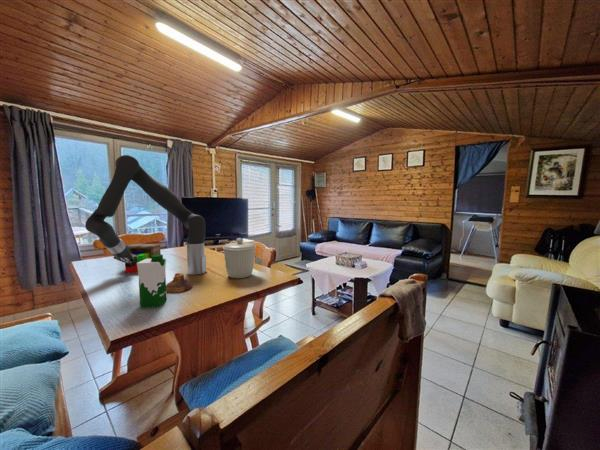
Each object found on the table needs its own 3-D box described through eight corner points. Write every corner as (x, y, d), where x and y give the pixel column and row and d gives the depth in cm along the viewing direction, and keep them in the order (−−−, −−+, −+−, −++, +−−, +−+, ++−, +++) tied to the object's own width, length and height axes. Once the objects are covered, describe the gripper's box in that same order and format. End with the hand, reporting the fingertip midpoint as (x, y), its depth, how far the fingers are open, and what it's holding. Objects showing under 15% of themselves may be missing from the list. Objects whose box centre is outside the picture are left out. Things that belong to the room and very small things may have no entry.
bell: (186, 293, 117) (185, 278, 117) (159, 293, 117) (158, 277, 116) (196, 285, 129) (195, 270, 128) (171, 284, 129) (171, 270, 128)
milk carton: (160, 308, 101) (158, 257, 99) (136, 308, 100) (133, 258, 98) (169, 299, 110) (167, 253, 108) (147, 300, 109) (145, 253, 107)
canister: (245, 282, 133) (245, 241, 130) (215, 278, 138) (215, 239, 136) (262, 273, 150) (262, 236, 147) (234, 270, 155) (234, 235, 153)
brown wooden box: (161, 266, 160) (160, 244, 158) (154, 270, 152) (153, 246, 151) (135, 266, 160) (133, 243, 158) (126, 270, 152) (125, 246, 151)
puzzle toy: (136, 268, 157) (135, 251, 156) (153, 268, 157) (152, 251, 156) (125, 272, 147) (124, 255, 146) (143, 272, 147) (142, 255, 146)
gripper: (133, 241, 135) (148, 259, 148) (107, 241, 135) (124, 258, 148) (127, 253, 130) (143, 270, 144) (100, 253, 130) (119, 270, 143)
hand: (133, 264), depth 146 cm, fingers closed
